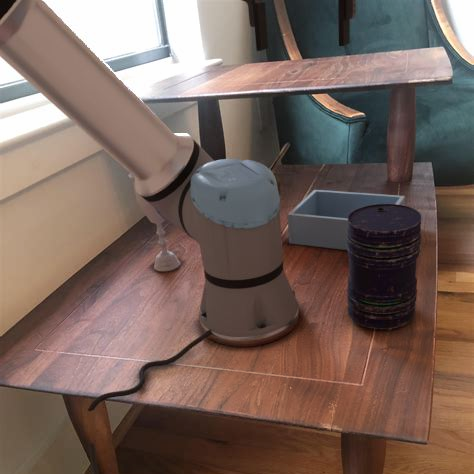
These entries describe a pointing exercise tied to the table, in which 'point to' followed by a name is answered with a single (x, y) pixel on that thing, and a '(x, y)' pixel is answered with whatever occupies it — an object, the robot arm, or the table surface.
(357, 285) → the dark striped canister
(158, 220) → the chalice
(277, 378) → the table surface
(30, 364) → the table surface
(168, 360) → the robot arm
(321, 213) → the open box
